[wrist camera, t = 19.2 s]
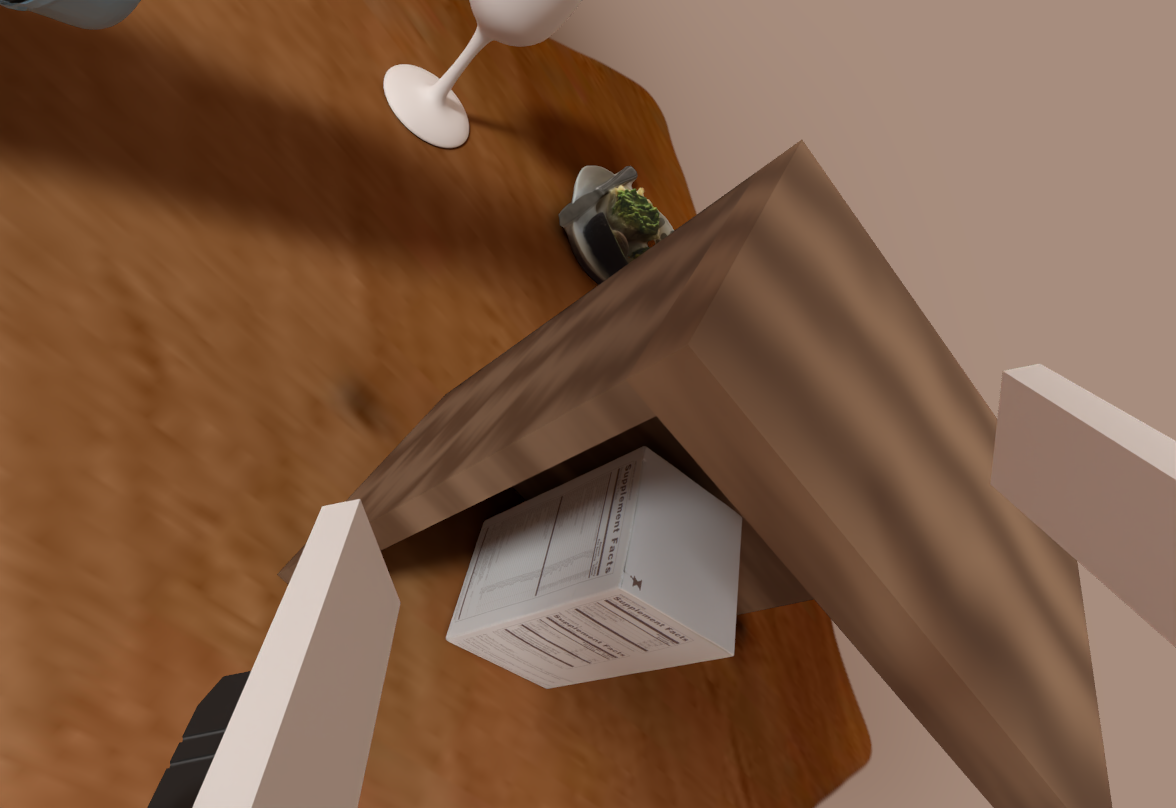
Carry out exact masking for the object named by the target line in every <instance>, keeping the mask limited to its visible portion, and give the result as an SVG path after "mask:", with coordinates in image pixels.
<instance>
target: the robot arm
mask: <svg viewBox="0 0 1176 808" xmlns="http://www.w3.org/2000/svg"><path fill="white" fill-rule="evenodd" d="M140 1H141V0H0V5H1V6H4V7H6V8H9V9H15V10H21V11H28V10H29V11H31V12H34V13H37V14H40V15H43V16H46V17H49V18H52V19H55V20H58V21H60V22H63V23H66V24H69V25H72V26H75V27H79V28H83V29H95V30H96V29H104V28H108V27H111V26H114V25H116V24H118V23H119V22H121V21H122V20H124V19H125V18H126V17H127V16H128V15H129V14H130V13H131V12H132V11H133V10H134V9H135V8H136V6H137V5H138V4H139V2H140ZM990 484H991V485H992V486H993V487H994V488H995V489H996V490H997V491H999V492H1000V493H1001V494H1002V495H1003V496H1004V497H1005V498H1007V499H1008V500H1009V501H1010V502H1011V503H1012V504H1013V505H1014V506H1016V507H1017V508H1018V509H1019V510H1020V511H1021V512H1022V513H1024V514H1025V515H1026V516H1027V517H1028V518H1029V519H1030V520H1031V521H1033V522H1034V523H1035V524H1036V525H1037V526H1038V527H1039V528H1041V529H1042V530H1043V531H1044V532H1045V533H1046V534H1047V535H1048V536H1050V537H1051V538H1052V539H1053V540H1054V541H1055V542H1056V543H1058V544H1059V545H1060V546H1061V547H1062V548H1063V549H1064V550H1065V551H1067V552H1068V553H1069V554H1070V555H1071V556H1072V557H1073V558H1075V559H1076V560H1077V561H1078V562H1079V563H1080V564H1081V565H1082V566H1084V567H1085V568H1086V569H1087V570H1088V571H1089V572H1091V573H1092V574H1093V575H1094V576H1095V577H1096V578H1097V579H1098V580H1100V581H1101V582H1102V583H1103V584H1104V585H1105V586H1106V587H1107V588H1109V589H1110V590H1111V591H1112V592H1113V593H1114V594H1115V595H1116V596H1118V597H1119V598H1120V599H1121V600H1122V601H1124V603H1126V604H1127V605H1128V606H1129V607H1130V608H1131V609H1133V610H1134V611H1135V612H1136V613H1137V614H1138V615H1139V616H1140V617H1141V618H1143V619H1144V620H1145V621H1146V622H1147V623H1148V624H1150V625H1151V626H1152V627H1153V628H1154V629H1155V630H1156V631H1157V632H1158V633H1160V634H1161V635H1162V636H1163V637H1164V638H1165V639H1166V640H1167V641H1169V642H1170V643H1171V644H1172V645H1173V646H1174V647H1175V648H1176V441H1175V440H1173V439H1171V438H1169V437H1168V436H1166V435H1164V434H1162V433H1161V432H1159V431H1157V430H1155V429H1154V428H1152V427H1150V426H1148V425H1147V424H1145V423H1143V422H1141V421H1140V420H1138V419H1136V418H1134V417H1133V416H1131V415H1129V414H1127V413H1126V412H1124V411H1122V410H1120V409H1119V408H1117V407H1115V406H1113V405H1111V404H1110V403H1108V402H1106V401H1104V400H1103V399H1101V398H1099V397H1097V396H1096V395H1094V394H1092V393H1090V392H1089V391H1087V390H1085V389H1084V388H1082V387H1080V386H1078V385H1077V384H1075V383H1073V382H1071V381H1070V380H1068V379H1066V378H1064V377H1063V376H1061V375H1059V374H1057V373H1055V372H1054V371H1052V370H1050V369H1048V368H1047V367H1045V366H1043V365H1041V364H1035V365H1030V366H1025V367H1020V368H1015V369H1010V370H1005V371H1003V373H1002V383H1001V391H1000V401H999V410H998V419H997V428H996V437H995V447H994V456H993V465H992V474H991V483H990ZM399 607H400V600H399V598H398V595H397V593H396V590H395V587H394V585H393V582H392V580H391V577H390V575H389V572H388V569H387V567H386V564H385V562H384V559H383V556H382V554H381V551H380V549H379V546H378V544H377V541H376V538H375V536H374V533H373V531H372V528H371V525H370V523H369V520H368V518H367V515H366V513H365V510H364V507H363V505H362V502H361V500H360V499H357V500H352V501H347V502H342V503H337V504H332V505H327V506H322V508H321V511H320V513H319V515H318V518H317V520H316V522H315V525H314V527H313V529H312V531H311V534H310V536H309V538H308V541H307V543H306V545H305V548H304V550H303V552H302V555H301V557H300V559H299V562H298V564H297V566H296V569H295V571H294V573H293V575H292V578H291V580H290V582H289V585H288V587H287V589H286V592H285V594H284V596H283V599H282V601H281V603H280V606H279V608H278V610H277V613H276V615H275V617H274V620H273V622H272V624H271V626H270V629H269V631H268V633H267V636H266V638H265V640H264V643H263V645H262V647H261V650H260V652H259V654H258V657H257V659H256V661H255V664H254V666H253V668H252V671H249V672H244V673H239V674H234V675H229V676H224V677H223V678H222V679H221V680H220V681H219V682H218V683H217V684H216V685H215V687H214V688H213V689H212V690H211V691H210V692H209V693H208V695H207V696H206V697H205V698H204V699H203V700H202V701H201V702H200V704H199V705H198V706H197V708H196V710H195V712H194V714H193V716H192V718H191V720H190V722H189V724H188V726H187V728H186V730H185V732H184V734H183V736H182V737H183V742H180V743H179V745H178V747H177V749H176V751H175V753H174V755H173V757H172V759H171V761H170V768H168V769H166V771H165V773H164V775H163V777H162V779H161V781H160V783H159V785H158V787H157V789H156V791H155V793H154V795H153V797H152V799H151V801H150V804H149V806H148V808H357V807H358V802H359V798H360V793H361V788H362V783H363V779H364V774H365V769H366V764H367V759H368V755H369V750H370V745H371V740H372V736H373V731H374V726H375V721H376V717H377V712H378V707H379V702H380V697H381V693H382V688H383V683H384V678H385V674H386V669H387V664H388V659H389V655H390V650H391V645H392V640H393V635H394V631H395V626H396V621H397V616H398V612H399Z"/></svg>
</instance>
